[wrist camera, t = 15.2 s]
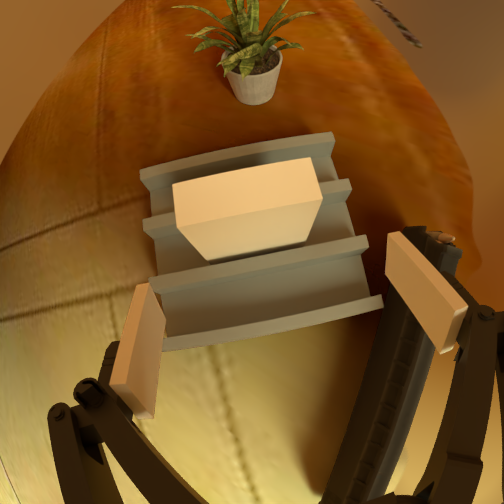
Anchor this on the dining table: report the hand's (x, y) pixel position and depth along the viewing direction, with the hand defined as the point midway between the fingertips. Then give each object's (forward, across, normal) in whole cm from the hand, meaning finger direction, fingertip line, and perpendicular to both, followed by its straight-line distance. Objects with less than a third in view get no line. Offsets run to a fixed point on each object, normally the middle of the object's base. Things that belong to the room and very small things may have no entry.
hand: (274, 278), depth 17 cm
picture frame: (+13, 0, -5) cm, 14 cm away
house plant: (+30, +2, +9) cm, 31 cm away
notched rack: (+15, 0, -6) cm, 16 cm away
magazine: (+3, +9, -18) cm, 20 cm away
